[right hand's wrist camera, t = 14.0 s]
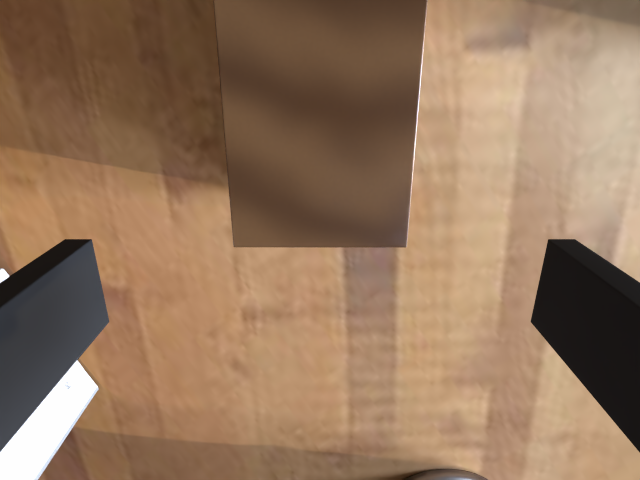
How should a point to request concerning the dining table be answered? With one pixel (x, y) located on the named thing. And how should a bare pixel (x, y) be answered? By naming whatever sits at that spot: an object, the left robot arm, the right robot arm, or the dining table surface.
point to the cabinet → (320, 119)
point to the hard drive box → (46, 424)
